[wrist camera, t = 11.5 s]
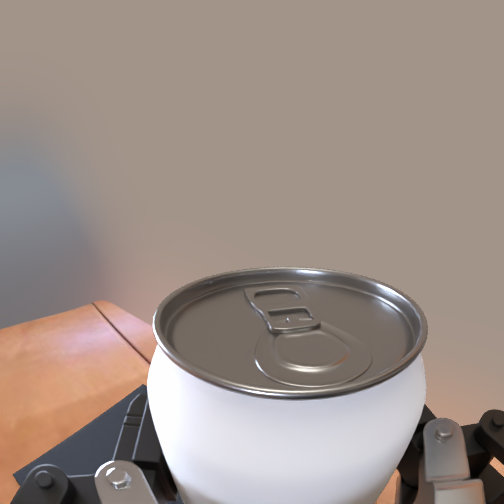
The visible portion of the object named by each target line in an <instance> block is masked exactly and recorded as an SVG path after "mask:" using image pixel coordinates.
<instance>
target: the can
mask: <svg viewBox="0 0 504 504" xmlns="http://www.w3.org/2000/svg"><path fill="white" fill-rule="evenodd" d="M153 331H154V335H155V338H156V341H157V343H158V345H157V348H156V351H155V353H154V356H153V359H152V362H151V366H150V370H149V375H148V381H147V392H148V400H149V406H150V410H151V414H152V418H153V422H154V426H155V429H156V432H157V435H158V438H159V442H160V445H161V448H162V450H163V453H164V456H165V459H166V462H167V464H168V467H169V469H170V472H171V475H172V477H173V480H174V482H175V485H176V487H177V489H178V492H179V494H180V496H181V498H182V501H183V503H184V504H374V503H375V502H376V500H377V499H378V497H379V496H380V494H381V493H382V491H383V490H384V488H385V486H386V485H387V483H388V482H389V480H390V478H391V476H392V475H393V473H394V471H395V470H396V468H397V466H398V464H399V462H400V460H401V459H402V457H403V455H404V453H405V451H406V449H407V447H408V445H409V443H410V441H411V439H412V436H413V434H414V432H415V429H416V427H417V425H418V422H419V420H420V417H421V414H422V410H423V407H424V403H425V397H426V377H425V370H424V364H423V360H422V356H421V351H422V349H423V347H424V345H425V342H426V339H427V334H428V325H427V320H426V317H425V315H424V313H423V311H422V310H421V308H420V307H419V306H418V304H416V302H415V301H414V300H412V299H411V298H410V297H409V296H407V295H406V294H404V293H403V292H401V291H400V290H398V289H396V288H394V287H392V286H390V285H388V284H385V283H383V282H380V281H377V280H375V279H371V278H368V277H364V276H361V275H357V274H352V273H348V272H342V271H336V270H329V269H320V268H308V267H264V268H252V269H244V270H237V271H231V272H225V273H221V274H216V275H212V276H209V277H205V278H202V279H199V280H196V281H194V282H191V283H189V284H187V285H185V286H183V287H181V288H179V289H177V290H176V291H174V292H173V293H171V294H170V295H169V296H167V297H166V298H165V299H164V300H163V301H162V303H161V304H160V305H159V307H158V308H157V310H156V312H155V315H154V318H153Z"/></svg>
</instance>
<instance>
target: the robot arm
mask: <svg viewBox="0 0 504 504" xmlns="http://www.w3.org/2000/svg"><path fill="white" fill-rule="evenodd" d="M494 457H495V458H497V459H498V460H499V461H500V462H501V463H502V464H503V465H504V412H503V411H501V410H489V411H487V412H485V413H484V414H483V416H482V417H481V419H480V421H479V423H477V424H471V425H466V426H459V424H457V423H456V422H455V421H453V420H451V419H447V418H436V417H435V416H434V414H432V412H431V411H430V410H429V408H428V407H427V406H426V405H425V404H424V407H423V410H422V414H421V417H420V420H419V422H418V425H417V427H416V429H415V432H414V434H413V436H412V439H411V441H410V443H409V445H408V447H407V449H406V451H405V453H404V455H403V457H402V459H401V460H400V462H399V464H398V466H397V468H396V469H398V471H399V473H400V474H399V475H398V477H397V482H396V494H395V504H504V477H503V476H502V475H501V474H500V473H499V472H498V471H497V470H496V469H494V468H493V467H492V466H491V465H490V464H489V463H490V462H491V460H492V459H493V458H494ZM177 497H178V489H177V487H176V485H175V482H174V480H173V477H172V475H171V472H170V469H169V467H168V464H167V462H166V459H165V456H164V453H163V450H162V448H161V445H160V442H159V438H158V435H157V432H156V429H155V426H154V422H153V418H152V414H151V410H150V406H149V400H148V394H138V395H137V396H136V397H135V398H134V399H133V400H132V401H131V402H130V405H129V408H128V411H127V416H126V417H125V420H124V425H123V426H122V429H121V432H120V435H119V439H118V442H117V445H116V448H115V452H114V455H113V458H112V461H110V462H108V463H105V464H104V465H102V466H101V467H100V468H99V469H98V470H97V472H96V473H94V474H89V475H72V476H67V475H66V474H65V472H64V471H63V470H62V469H61V468H59V467H57V466H55V465H52V464H42V465H38V466H36V467H35V468H33V469H32V470H31V471H30V472H29V474H28V475H27V477H26V478H25V480H24V482H23V483H22V485H21V486H20V488H19V490H18V491H17V493H16V495H15V496H14V498H13V500H12V501H11V503H10V504H167V501H176V502H177Z"/></svg>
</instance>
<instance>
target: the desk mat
mask: <svg viewBox="0 0 504 504" xmlns="http://www.w3.org/2000/svg"><path fill="white" fill-rule="evenodd" d="M138 394H148V392H147V386H146V385H144V384H143V385H141V386H140V387H139V388H137V389H136V390H134V391H133V392H132V393H130V394H129V395H128V396H126V397H125V398H124V399H122V400H121V401H119V402H118V403H117V404H115V405H114V406H113V407H111V408H110V409H108V410H107V411H106V412H104V413H103V414H101V415H100V416H99V417H97V418H96V419H94V420H93V421H92V422H90V423H89V424H87V425H86V426H84V427H83V428H82V429H80V430H79V431H77V432H76V433H74V434H73V435H71V436H70V437H69V438H67V439H66V440H64V441H63V442H61V443H60V444H58V445H57V446H55V447H54V448H52V449H51V450H49V451H48V452H46V453H45V454H43V455H42V456H40V457H39V458H37V459H36V460H34V461H33V462H31V463H30V464H28V465H27V466H25V467H23V468H22V469H20V470H19V471H17V472H16V473H14V474H13V476H14V478H15V479H16V480H17V482H18V483H19V485H20V486H21V485H22V483H23V482H24V480H25V478H26V477H27V475H28V474H29V472H30V471H31V470H32V469H33V468H35V467H36V466H38V465H42V464H52V465H55V466H57V467H59V468H61V469H62V470H63V471H64V472H65V474H66V475H67V476H72V475H89V474H94V473H96V472H97V470H98V469H99V468H100V467H101V466H102V465H104V464H105V463H108V462H110V461H112V458H113V455H114V452H115V448H116V445H117V442H118V439H119V435H120V432H121V429H122V426H123V425H124V420H125V417H126V416H127V411H128V408H129V405H130V402H131V401H132V400H133V399H134V398H135V397H136V396H137V395H138ZM167 504H184V503H183V501H182V498H181V496H180V494H179V492H178V497H177V502H176V501H167Z"/></svg>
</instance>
